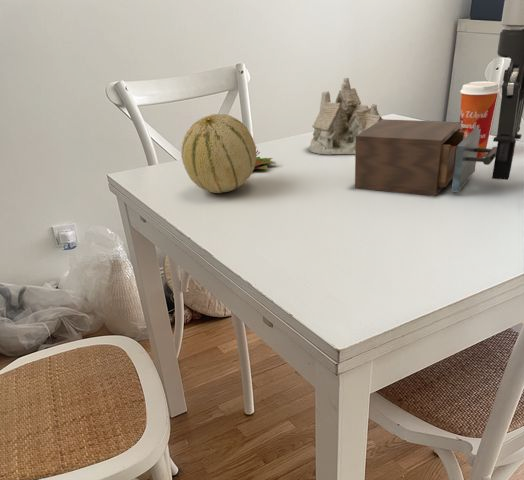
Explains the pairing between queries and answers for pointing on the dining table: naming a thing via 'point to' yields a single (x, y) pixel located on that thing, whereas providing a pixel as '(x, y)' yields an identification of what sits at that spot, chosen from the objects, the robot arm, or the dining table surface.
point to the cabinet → (402, 155)
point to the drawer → (462, 158)
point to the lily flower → (262, 162)
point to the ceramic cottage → (341, 122)
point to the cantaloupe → (218, 153)
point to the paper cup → (478, 109)
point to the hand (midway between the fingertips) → (500, 177)
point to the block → (451, 159)
